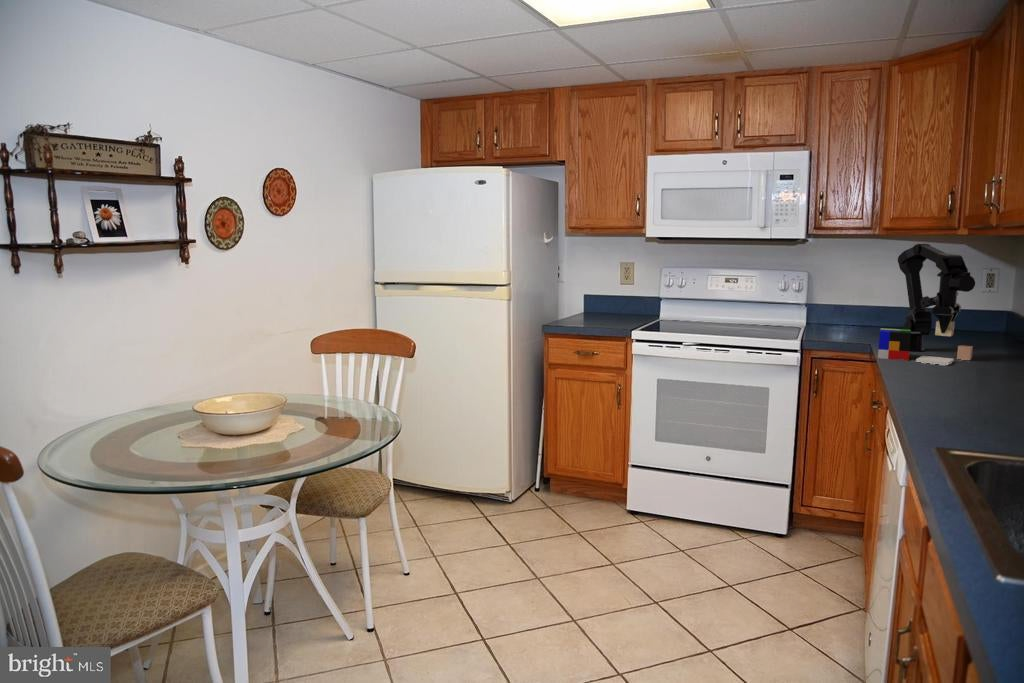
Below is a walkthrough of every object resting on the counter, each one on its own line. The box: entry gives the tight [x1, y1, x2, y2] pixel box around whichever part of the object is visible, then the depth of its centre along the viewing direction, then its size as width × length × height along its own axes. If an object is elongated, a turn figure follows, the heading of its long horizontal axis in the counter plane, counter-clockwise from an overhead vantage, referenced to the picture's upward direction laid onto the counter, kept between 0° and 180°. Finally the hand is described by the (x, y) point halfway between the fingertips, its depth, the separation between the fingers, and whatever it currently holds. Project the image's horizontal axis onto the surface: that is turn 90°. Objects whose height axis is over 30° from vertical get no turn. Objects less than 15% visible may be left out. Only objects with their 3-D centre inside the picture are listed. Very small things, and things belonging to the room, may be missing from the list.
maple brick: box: [934, 320, 955, 337], centre depth 266 cm, size 5×5×5 cm
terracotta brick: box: [956, 344, 974, 361], centre depth 264 cm, size 4×4×5 cm
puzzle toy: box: [877, 328, 911, 361], centre depth 269 cm, size 10×10×10 cm
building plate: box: [915, 355, 955, 366], centre depth 259 cm, size 10×10×1 cm
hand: (944, 332), depth 266 cm, fingers closed on maple brick, 5 cm apart
